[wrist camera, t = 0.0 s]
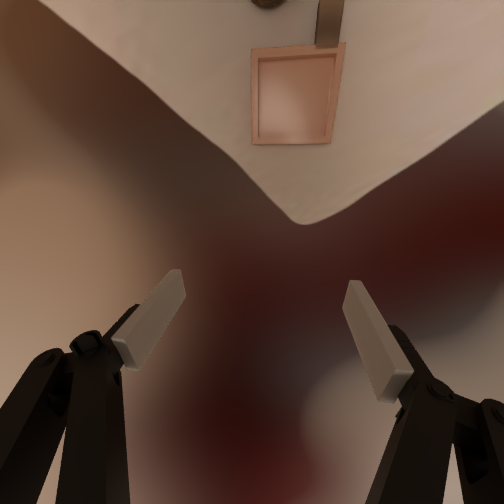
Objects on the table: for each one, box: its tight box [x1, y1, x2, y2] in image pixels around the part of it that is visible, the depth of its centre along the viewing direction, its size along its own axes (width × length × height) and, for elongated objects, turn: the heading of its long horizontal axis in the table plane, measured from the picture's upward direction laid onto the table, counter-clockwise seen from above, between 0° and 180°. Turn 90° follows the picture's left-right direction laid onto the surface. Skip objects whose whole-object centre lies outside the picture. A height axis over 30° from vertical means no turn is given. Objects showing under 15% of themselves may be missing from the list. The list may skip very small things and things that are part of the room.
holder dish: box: [251, 42, 346, 144], centre depth 31 cm, size 12×13×2 cm
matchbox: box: [314, 0, 344, 49], centre depth 27 cm, size 5×3×2 cm, turn 1°
